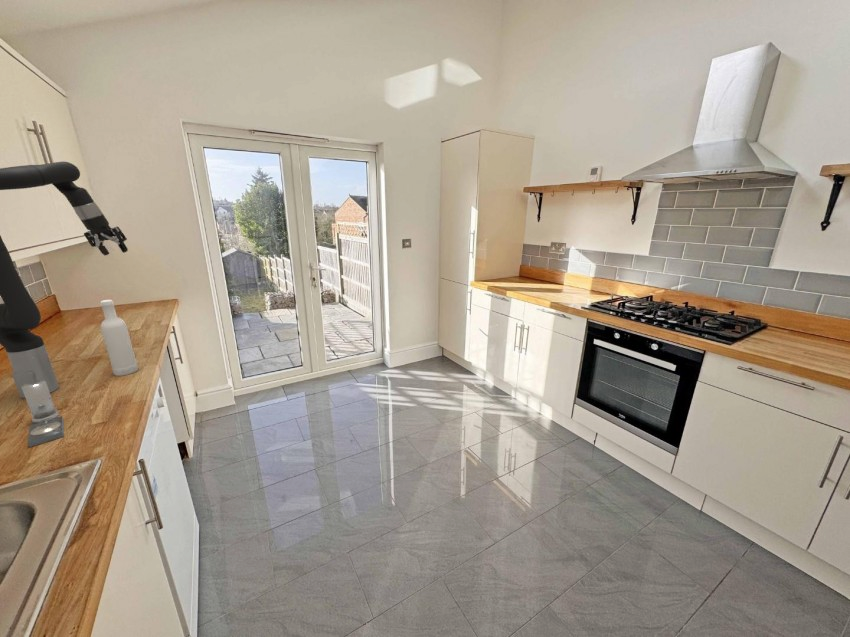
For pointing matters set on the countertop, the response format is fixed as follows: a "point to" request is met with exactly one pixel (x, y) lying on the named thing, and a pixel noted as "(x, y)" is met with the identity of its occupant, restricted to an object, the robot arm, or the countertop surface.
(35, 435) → the base plate
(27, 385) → the flanged metal cylinder
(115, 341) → the bottle
